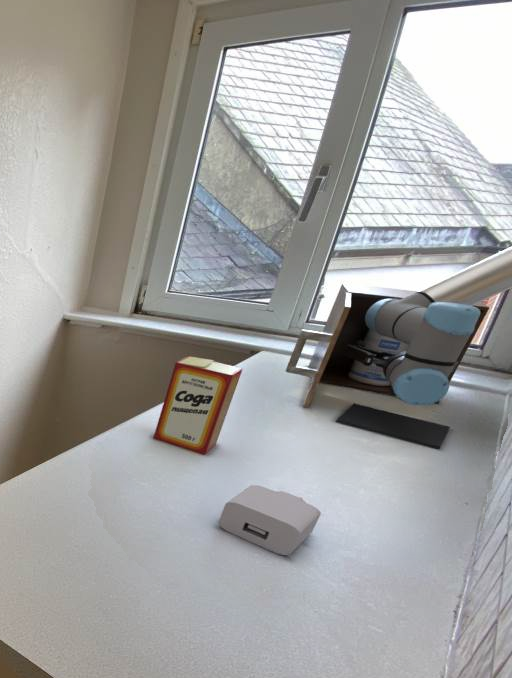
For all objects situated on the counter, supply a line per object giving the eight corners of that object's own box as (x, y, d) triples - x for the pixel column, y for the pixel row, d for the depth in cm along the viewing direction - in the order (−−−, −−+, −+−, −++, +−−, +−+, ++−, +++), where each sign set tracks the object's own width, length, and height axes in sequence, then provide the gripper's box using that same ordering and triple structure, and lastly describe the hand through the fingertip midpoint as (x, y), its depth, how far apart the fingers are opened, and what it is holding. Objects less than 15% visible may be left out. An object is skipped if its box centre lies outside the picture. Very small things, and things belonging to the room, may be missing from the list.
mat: (439, 449, 109) (440, 446, 109) (335, 421, 121) (336, 419, 120) (448, 429, 120) (450, 426, 119) (352, 405, 131) (353, 403, 131)
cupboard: (438, 404, 134) (489, 307, 124) (311, 381, 147) (348, 291, 137) (423, 385, 148) (468, 296, 138) (308, 366, 160) (342, 283, 150)
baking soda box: (215, 445, 107) (243, 366, 100) (204, 454, 102) (233, 373, 95) (165, 429, 113) (188, 354, 105) (153, 438, 108) (176, 360, 101)
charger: (323, 523, 82) (288, 558, 74) (255, 496, 89) (216, 526, 80) (336, 496, 80) (301, 529, 72) (266, 471, 87) (227, 499, 78)
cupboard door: (273, 400, 132) (312, 302, 121) (283, 376, 150) (317, 289, 139) (308, 407, 128) (350, 307, 118) (314, 382, 146) (351, 293, 136)
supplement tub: (364, 386, 142) (390, 330, 136) (338, 374, 151) (361, 321, 144) (402, 388, 142) (430, 332, 136) (374, 376, 151) (398, 323, 144)
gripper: (330, 375, 126) (324, 355, 143) (477, 400, 114) (452, 376, 130) (344, 343, 123) (336, 327, 139) (497, 366, 111) (469, 345, 127)
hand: (392, 350), depth 135 cm, fingers open, 13 cm apart
